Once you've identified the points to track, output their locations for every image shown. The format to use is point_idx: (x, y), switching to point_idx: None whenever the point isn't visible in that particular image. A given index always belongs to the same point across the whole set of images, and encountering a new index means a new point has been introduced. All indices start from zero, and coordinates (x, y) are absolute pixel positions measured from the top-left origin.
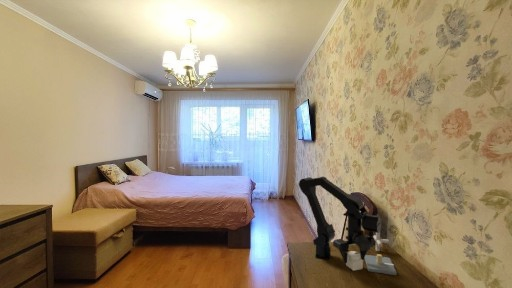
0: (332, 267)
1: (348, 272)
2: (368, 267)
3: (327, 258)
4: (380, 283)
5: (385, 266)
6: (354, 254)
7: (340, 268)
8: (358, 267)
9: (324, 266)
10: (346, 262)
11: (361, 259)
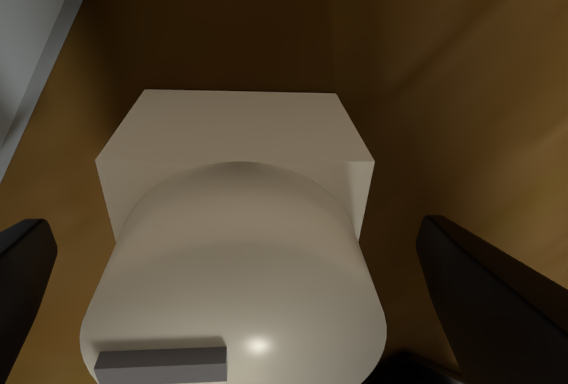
0: (509, 237)
1: (443, 80)
2: (39, 22)
3: (419, 362)
4: None
5: None
6: (266, 332)
7: (448, 195)
8: (233, 105)
9: (561, 272)
10: (436, 220)
11: (107, 198)
